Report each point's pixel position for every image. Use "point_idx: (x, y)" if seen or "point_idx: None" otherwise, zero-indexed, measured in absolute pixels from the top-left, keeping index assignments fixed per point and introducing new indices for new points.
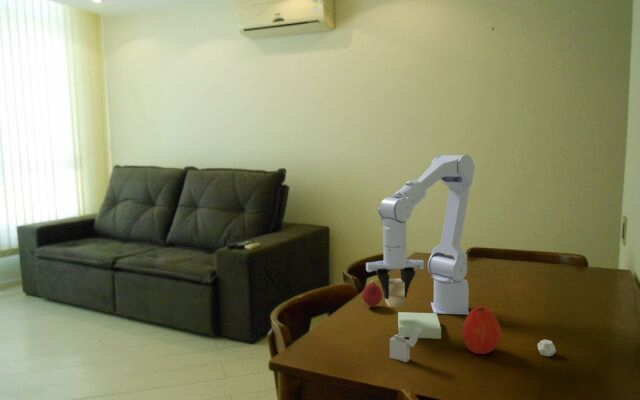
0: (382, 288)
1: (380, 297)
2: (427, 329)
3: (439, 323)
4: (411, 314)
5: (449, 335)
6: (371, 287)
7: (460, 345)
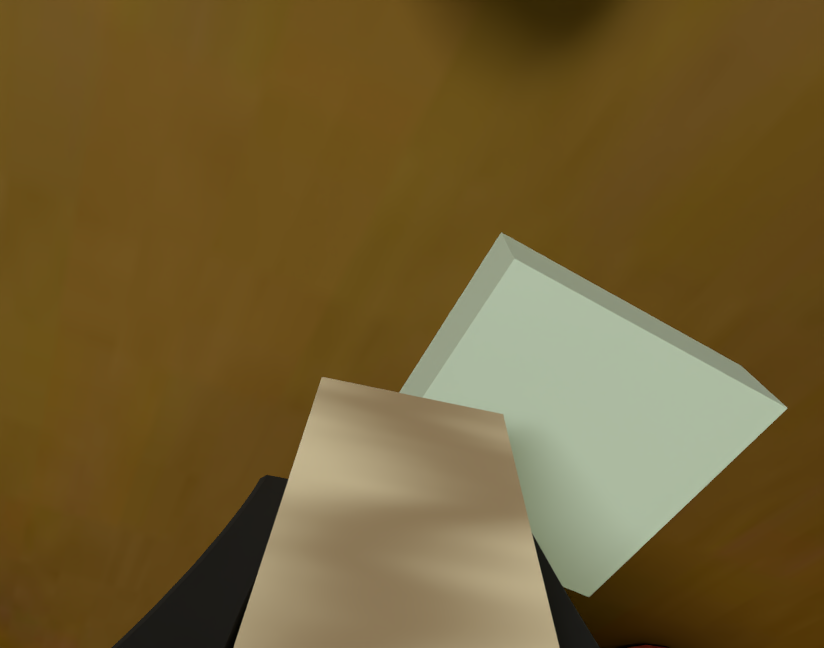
0: (204, 559)
1: None
2: None
3: (641, 546)
4: (586, 353)
5: None
6: None
7: (599, 616)
